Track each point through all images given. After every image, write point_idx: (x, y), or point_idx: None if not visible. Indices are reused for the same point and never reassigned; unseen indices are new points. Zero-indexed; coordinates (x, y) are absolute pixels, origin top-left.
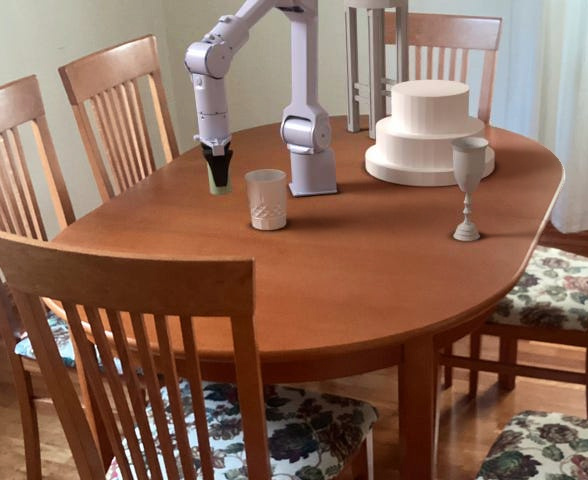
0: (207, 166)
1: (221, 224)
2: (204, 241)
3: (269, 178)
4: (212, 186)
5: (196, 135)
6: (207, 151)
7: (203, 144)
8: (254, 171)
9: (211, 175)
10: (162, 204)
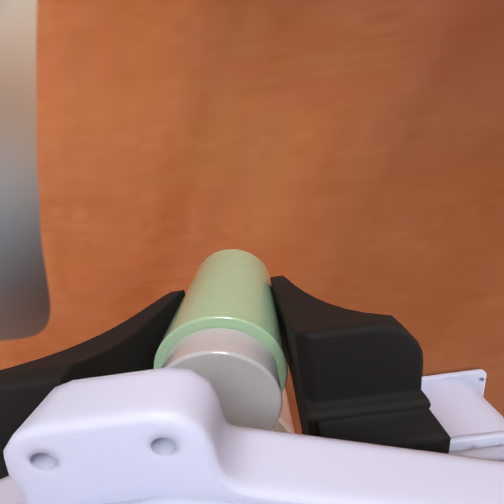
0: (204, 299)
1: (248, 238)
2: (131, 207)
3: (284, 431)
4: (197, 273)
5: (154, 458)
6: (20, 424)
7: (312, 357)
8: (281, 424)
9: (184, 296)
10: (454, 35)
